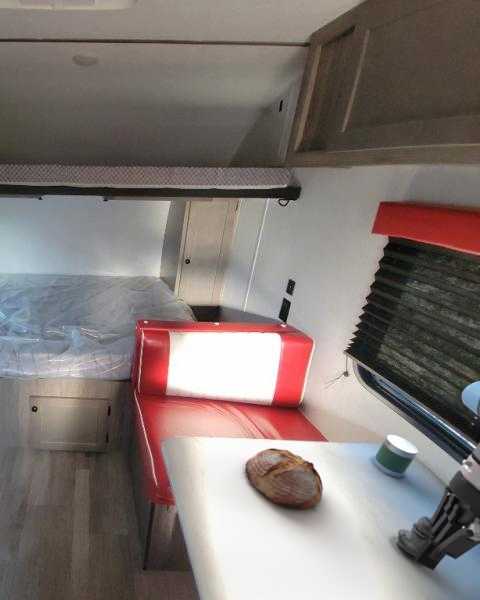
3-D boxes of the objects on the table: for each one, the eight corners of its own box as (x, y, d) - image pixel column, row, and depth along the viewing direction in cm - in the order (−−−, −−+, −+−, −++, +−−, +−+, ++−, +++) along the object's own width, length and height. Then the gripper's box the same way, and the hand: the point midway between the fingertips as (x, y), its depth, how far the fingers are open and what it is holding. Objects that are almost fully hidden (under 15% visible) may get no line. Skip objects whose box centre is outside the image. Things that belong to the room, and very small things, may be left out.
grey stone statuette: (401, 560, 76) (427, 526, 72) (385, 535, 81) (409, 501, 77) (430, 569, 75) (459, 534, 70) (413, 543, 80) (438, 509, 76)
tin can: (407, 477, 100) (424, 452, 96) (389, 479, 98) (406, 454, 94) (383, 458, 106) (398, 433, 102) (366, 459, 104) (380, 435, 101)
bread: (333, 511, 87) (351, 486, 83) (268, 517, 83) (283, 492, 79) (288, 457, 102) (302, 433, 97) (231, 460, 98) (243, 436, 93)
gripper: (448, 453, 70) (395, 527, 79) (471, 498, 59) (407, 577, 68) (499, 473, 66) (438, 549, 75) (533, 524, 56) (457, 605, 65)
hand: (423, 562), depth 72 cm, fingers closed
